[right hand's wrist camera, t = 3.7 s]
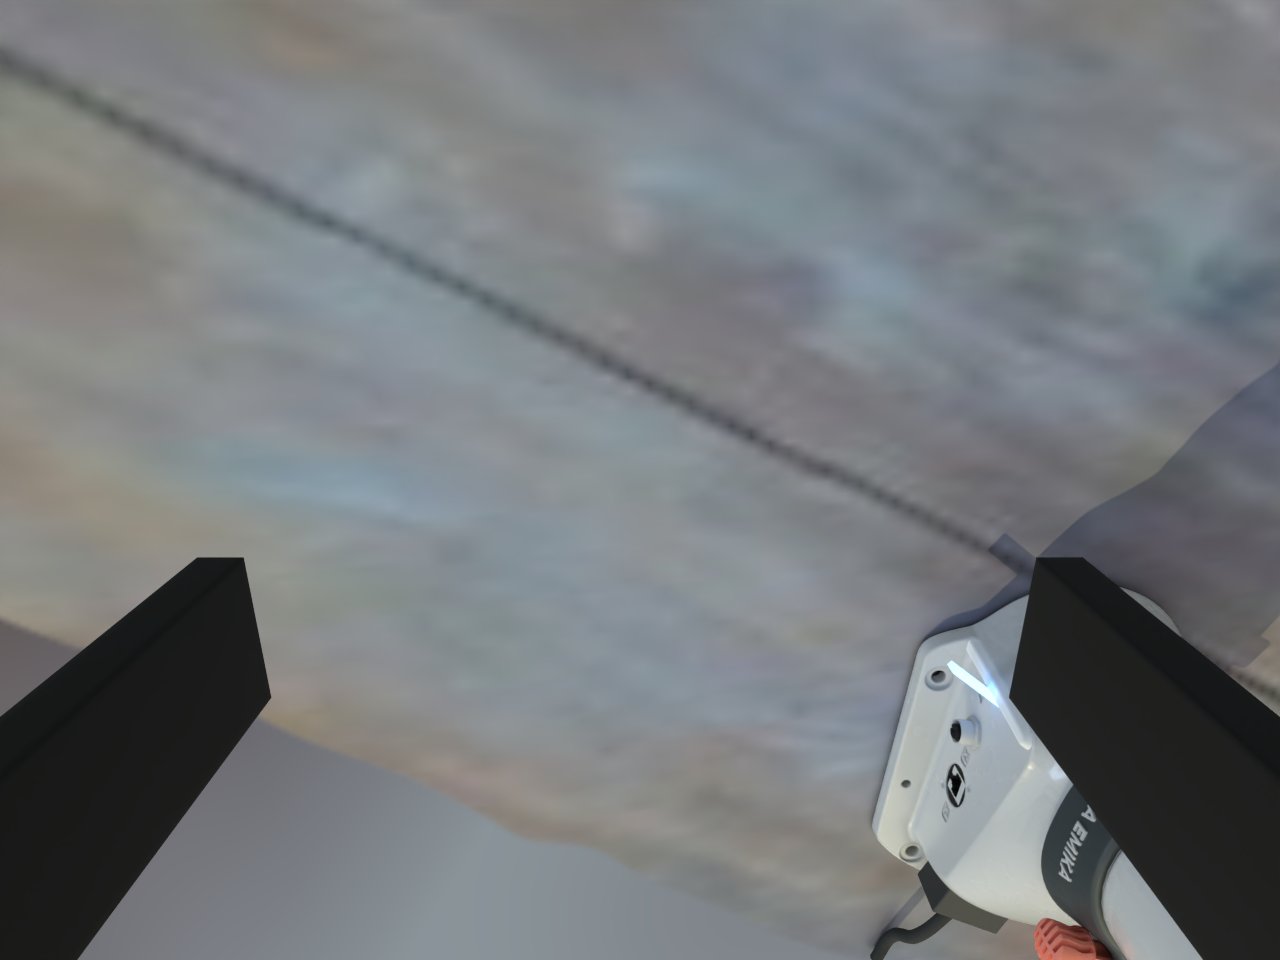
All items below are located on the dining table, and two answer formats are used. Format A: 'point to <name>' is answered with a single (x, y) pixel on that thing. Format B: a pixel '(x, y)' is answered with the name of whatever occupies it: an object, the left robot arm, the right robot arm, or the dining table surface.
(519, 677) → the dining table surface
